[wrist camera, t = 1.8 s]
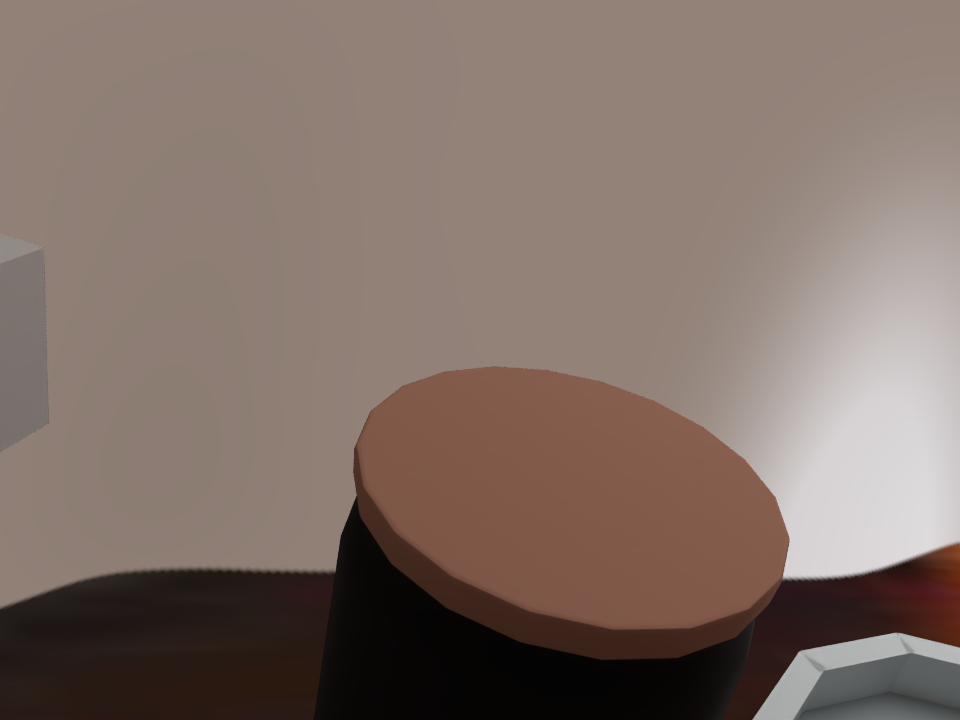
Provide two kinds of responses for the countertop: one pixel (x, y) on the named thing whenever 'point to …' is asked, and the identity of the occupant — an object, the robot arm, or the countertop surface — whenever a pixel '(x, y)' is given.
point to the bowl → (869, 682)
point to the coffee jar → (544, 557)
